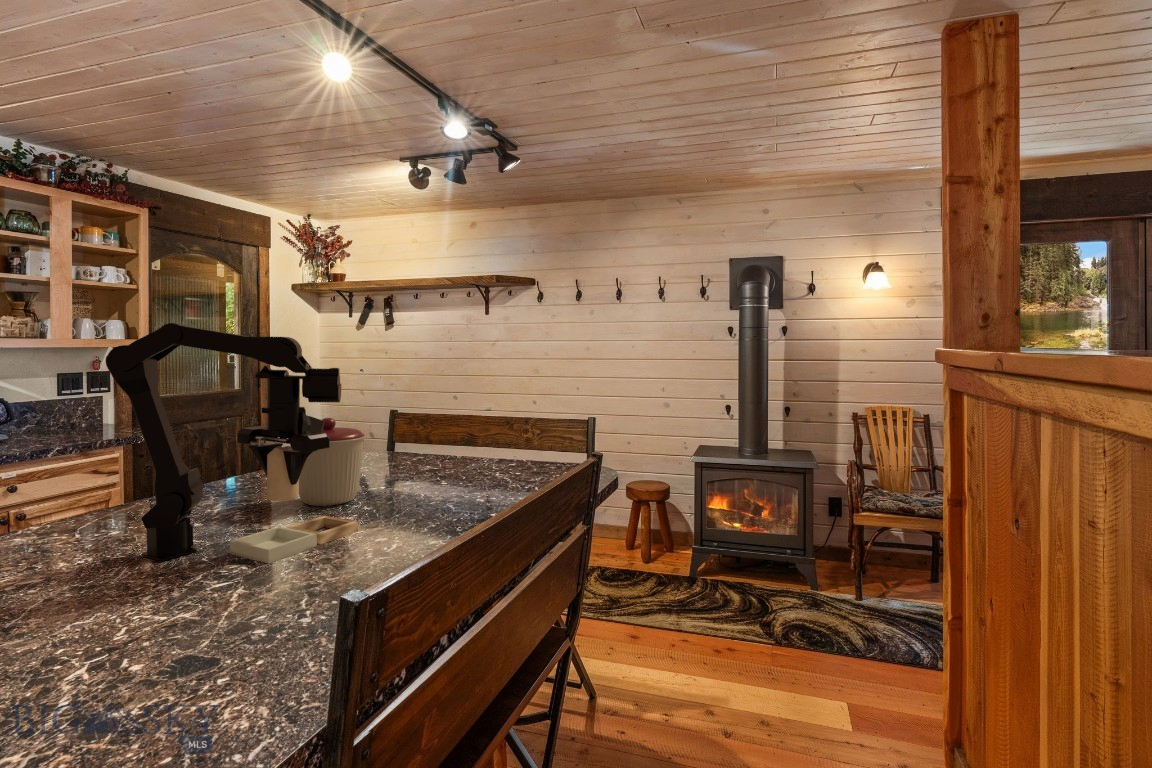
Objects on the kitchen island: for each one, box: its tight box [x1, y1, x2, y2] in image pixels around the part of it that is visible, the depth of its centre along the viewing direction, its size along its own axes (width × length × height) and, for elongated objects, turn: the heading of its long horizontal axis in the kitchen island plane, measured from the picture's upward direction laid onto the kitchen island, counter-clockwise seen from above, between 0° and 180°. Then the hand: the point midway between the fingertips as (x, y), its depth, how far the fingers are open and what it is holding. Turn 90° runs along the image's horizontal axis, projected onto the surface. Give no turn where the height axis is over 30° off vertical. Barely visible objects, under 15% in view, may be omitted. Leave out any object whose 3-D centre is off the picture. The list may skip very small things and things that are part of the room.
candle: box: [266, 445, 299, 502], centre depth 120 cm, size 6×6×10 cm
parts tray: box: [229, 526, 318, 564], centre depth 118 cm, size 11×11×2 cm
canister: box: [298, 417, 367, 507], centre depth 155 cm, size 18×18×21 cm
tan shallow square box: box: [285, 515, 359, 545], centre depth 128 cm, size 10×10×2 cm
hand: (282, 482), depth 120 cm, fingers closed on candle, 5 cm apart
